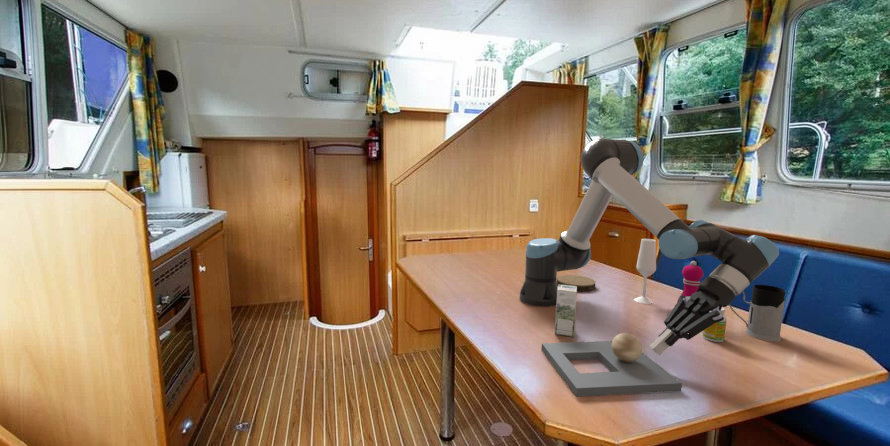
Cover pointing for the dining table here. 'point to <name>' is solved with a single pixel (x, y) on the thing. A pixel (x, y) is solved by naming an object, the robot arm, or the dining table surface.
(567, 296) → the syrup box
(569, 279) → the wood slice
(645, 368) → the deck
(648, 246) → the champagne flute
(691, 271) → the pepper mill
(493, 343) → the dining table surface
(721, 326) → the supplement bottle
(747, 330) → the glass holder
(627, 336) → the tan round lump
